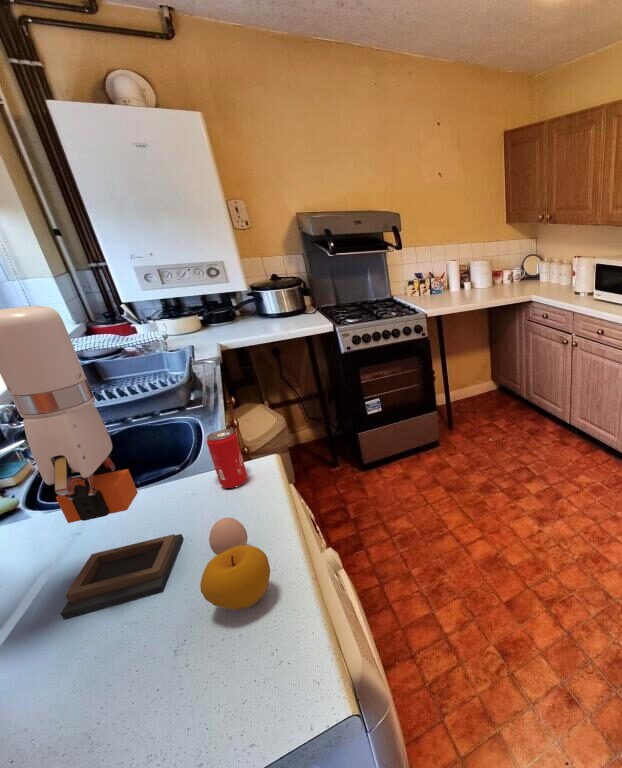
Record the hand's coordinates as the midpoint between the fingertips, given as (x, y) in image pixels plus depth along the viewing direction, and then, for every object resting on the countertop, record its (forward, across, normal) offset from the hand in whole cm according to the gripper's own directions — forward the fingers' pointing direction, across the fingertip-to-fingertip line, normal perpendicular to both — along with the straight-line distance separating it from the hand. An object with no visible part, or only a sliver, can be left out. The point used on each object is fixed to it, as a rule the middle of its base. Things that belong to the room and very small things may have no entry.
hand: (103, 505), depth 67 cm
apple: (+14, +15, +18) cm, 27 cm away
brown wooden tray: (+13, +1, 0) cm, 13 cm away
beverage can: (+14, -22, +12) cm, 29 cm away
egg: (+14, +3, +15) cm, 20 cm away
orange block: (0, 0, 0) cm, 0 cm away
